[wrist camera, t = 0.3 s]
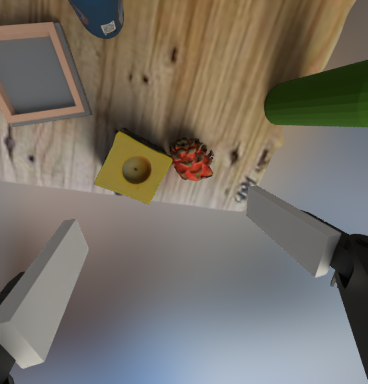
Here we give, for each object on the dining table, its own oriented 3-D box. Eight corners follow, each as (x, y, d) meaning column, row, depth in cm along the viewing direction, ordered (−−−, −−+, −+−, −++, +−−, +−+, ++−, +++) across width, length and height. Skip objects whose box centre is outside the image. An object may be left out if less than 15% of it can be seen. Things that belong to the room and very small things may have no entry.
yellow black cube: (103, 169, 37) (91, 185, 28) (122, 126, 35) (115, 128, 26) (146, 188, 41) (148, 207, 32) (166, 150, 38) (174, 159, 29)
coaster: (-32, 33, 25) (-50, 24, 23) (62, 26, 27) (54, 17, 25) (17, 126, 31) (6, 126, 28) (92, 114, 33) (88, 114, 30)
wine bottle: (281, 131, 43) (579, 153, 14) (256, 113, 40) (577, 91, 11) (303, 96, 41) (712, 33, 12) (279, 74, 38) (760, -90, 8)
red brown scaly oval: (167, 135, 39) (200, 165, 45) (152, 165, 35) (190, 193, 42) (193, 120, 32) (227, 158, 39) (177, 155, 29) (218, 190, 36)
